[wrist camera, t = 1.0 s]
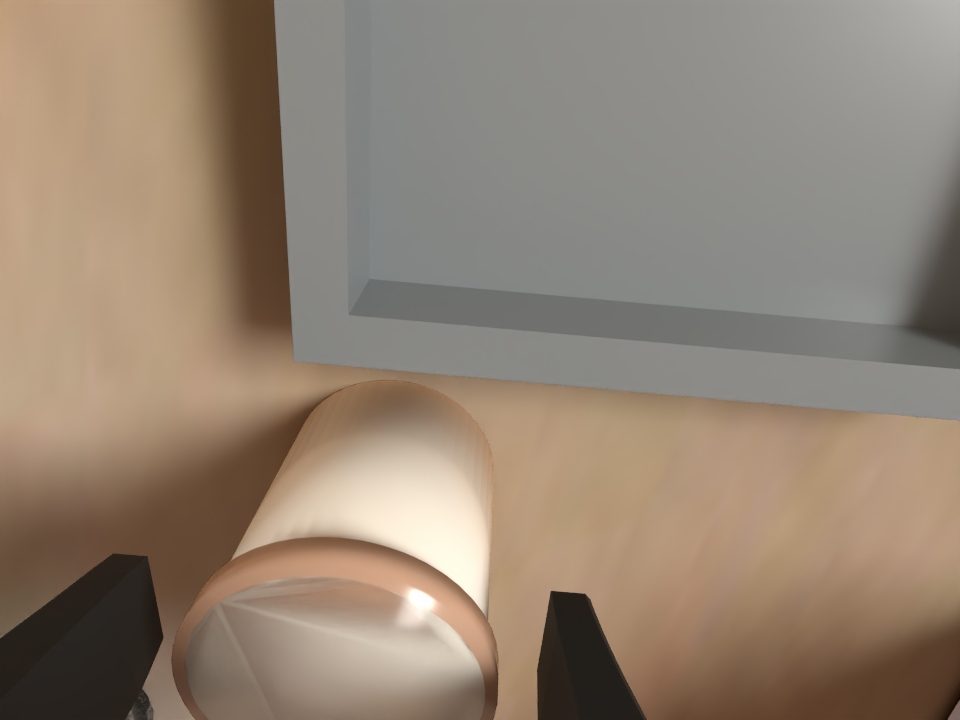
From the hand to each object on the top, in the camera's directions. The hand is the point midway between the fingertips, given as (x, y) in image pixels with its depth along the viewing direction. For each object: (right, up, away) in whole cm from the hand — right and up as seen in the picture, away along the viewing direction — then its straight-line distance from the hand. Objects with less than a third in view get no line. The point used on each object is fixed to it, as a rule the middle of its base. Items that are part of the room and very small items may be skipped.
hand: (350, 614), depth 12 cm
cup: (0, +2, +4) cm, 5 cm away
